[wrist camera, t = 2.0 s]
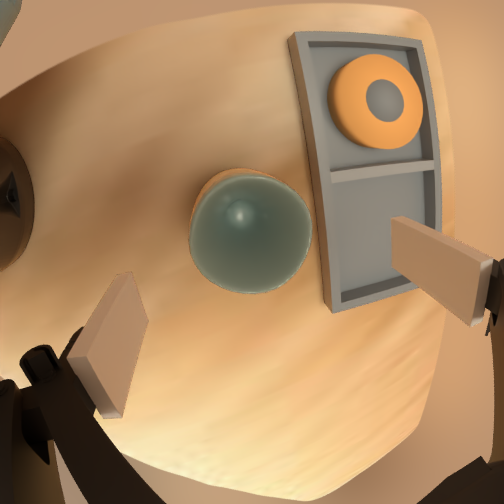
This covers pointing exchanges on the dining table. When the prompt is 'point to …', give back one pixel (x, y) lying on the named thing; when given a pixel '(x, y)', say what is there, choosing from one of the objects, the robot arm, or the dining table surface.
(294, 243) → the cup
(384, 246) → the tray
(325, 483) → the dining table surface
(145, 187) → the dining table surface
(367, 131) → the orange round thick disc
